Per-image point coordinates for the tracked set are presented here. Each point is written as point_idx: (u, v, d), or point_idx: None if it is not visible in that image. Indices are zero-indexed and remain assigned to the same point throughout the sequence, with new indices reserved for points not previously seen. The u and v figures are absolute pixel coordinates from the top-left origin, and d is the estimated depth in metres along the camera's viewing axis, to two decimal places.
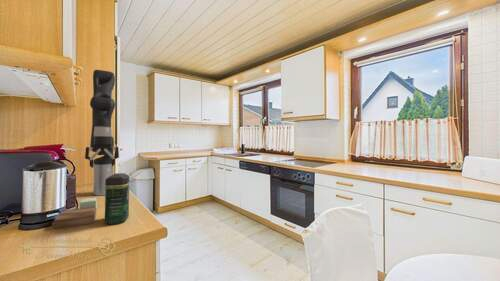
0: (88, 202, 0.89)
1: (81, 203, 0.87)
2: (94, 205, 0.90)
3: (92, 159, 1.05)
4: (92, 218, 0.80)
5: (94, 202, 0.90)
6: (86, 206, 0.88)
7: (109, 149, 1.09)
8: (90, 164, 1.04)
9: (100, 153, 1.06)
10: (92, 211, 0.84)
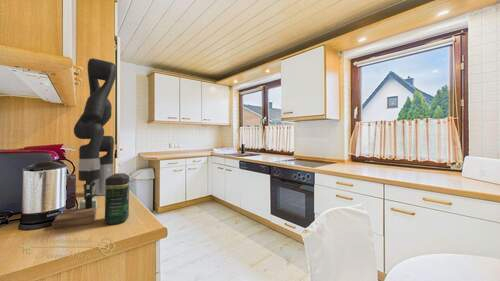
0: None
1: (81, 203, 0.87)
2: (94, 205, 0.90)
3: None
4: (92, 218, 0.80)
5: (94, 202, 0.90)
6: None
7: (93, 183, 0.94)
8: (90, 204, 0.87)
9: None
10: (92, 211, 0.84)
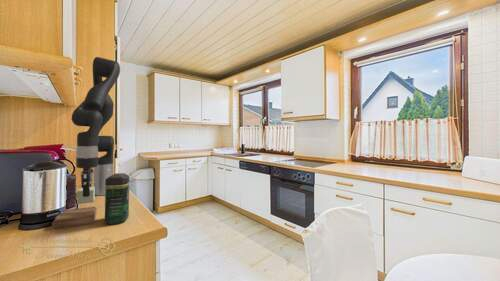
0: None
1: (79, 192, 0.87)
2: (92, 194, 0.90)
3: None
4: (92, 218, 0.80)
5: (92, 191, 0.90)
6: None
7: None
8: (88, 192, 0.88)
9: None
10: (92, 211, 0.84)
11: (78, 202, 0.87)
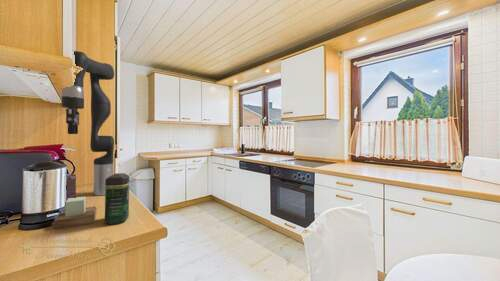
0: (75, 202, 0.79)
1: (67, 203, 0.78)
2: (82, 205, 0.81)
3: None
4: (92, 218, 0.80)
5: (82, 202, 0.81)
6: (73, 206, 0.79)
7: None
8: (73, 130, 0.87)
9: None
10: (92, 211, 0.84)
11: (66, 214, 0.78)
